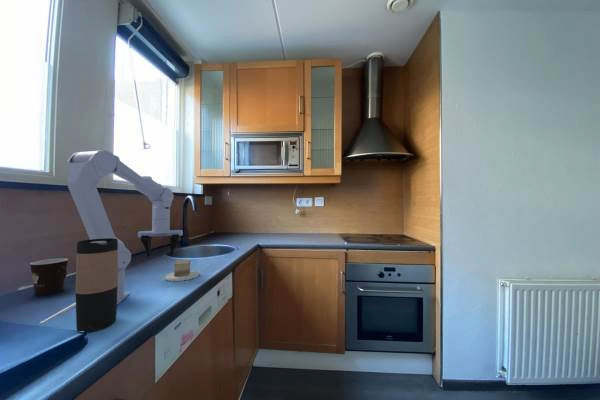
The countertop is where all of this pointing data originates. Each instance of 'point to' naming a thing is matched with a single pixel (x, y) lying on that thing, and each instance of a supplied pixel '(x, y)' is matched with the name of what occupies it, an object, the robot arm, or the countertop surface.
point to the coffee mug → (48, 276)
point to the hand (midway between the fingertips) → (160, 255)
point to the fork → (60, 312)
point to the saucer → (171, 276)
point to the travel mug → (96, 284)
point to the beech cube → (182, 268)
